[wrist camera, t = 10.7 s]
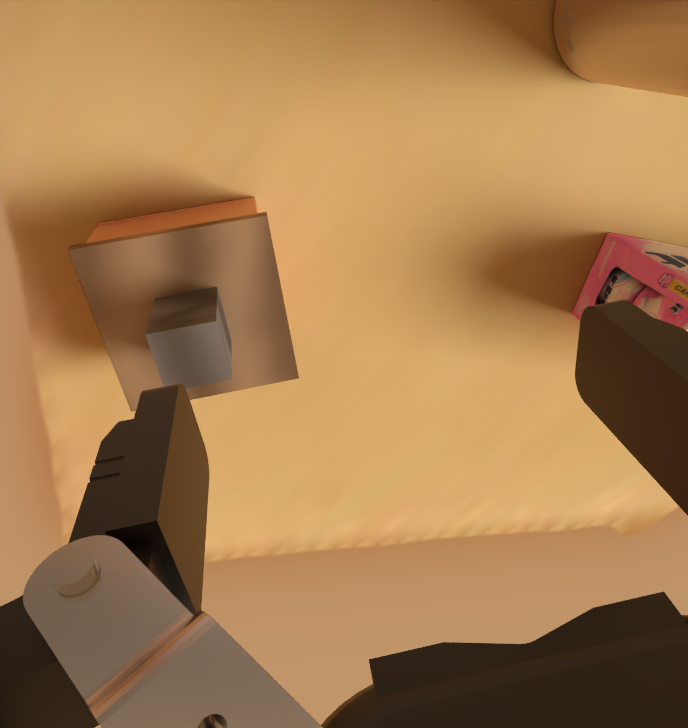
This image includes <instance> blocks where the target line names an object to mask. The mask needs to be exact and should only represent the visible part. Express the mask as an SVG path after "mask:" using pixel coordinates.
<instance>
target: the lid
mask: <svg viewBox="0 0 688 728" xmlns="http://www.w3.org/2000/svg"><path fill="white" fill-rule="evenodd" d="M68 253H69V255H70V258H71V261H72V263H73V266H74V268H75V271H76V273H77V276H78V278H79V281H80V283H81V286H82V288H83V291H84V293H85V296H86V298H87V301H88V303H89V306H90V309H91V311H92V314H93V316H94V319H95V321H96V324H97V326H98V329H99V331H100V334H101V336H102V339H103V341H104V344H105V346H106V349H107V351H108V354H109V356H110V359H111V362H112V364H113V367H114V369H115V372H116V374H117V377H118V379H119V382H120V384H121V387H122V389H123V392H124V394H125V397H126V399H127V402H128V404H129V407H130V410H131V412H132V411H136V409H137V405H138V402H139V398H140V394H141V392H142V391H145V390H150V389H155V388H160V387H165V386H171V385H176V384H183V386H184V387H185V389H186V391H187V394H188V397H189V400H192V399H197V398H202V397H207V396H212V395H217V394H222V393H227V392H232V391H237V390H242V389H247V388H252V387H257V386H262V385H267V384H272V383H277V382H282V381H287V380H292V379H297V378H299V376H298V371H297V366H296V361H295V356H294V351H293V346H292V341H291V335H290V330H289V325H288V320H287V315H286V310H285V305H284V300H283V295H282V290H281V285H280V280H279V274H278V269H277V264H276V259H275V254H274V249H273V244H272V239H271V234H270V229H269V224H268V218H267V213H266V212H263V213H257V214H252V215H246V216H240V217H234V218H228V219H223V220H217V221H211V222H205V223H200V224H194V225H188V226H182V227H176V228H171V229H165V230H159V231H153V232H148V233H142V234H136V235H130V236H125V237H119V238H113V239H107V240H101V241H96V242H90V243H84V244H78V245H73V246H70V247H69V249H68Z"/></svg>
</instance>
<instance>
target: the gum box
mask: <svg viewBox="0 0 688 728" xmlns="http://www.w3.org/2000/svg"><path fill="white" fill-rule="evenodd" d="M619 300H628V301H630V302H632V303H633V304H634V305H636V306H637V307H639V308H640V309H641V310H643V311H644V312H646V313H647V314H648V315H650V316H651V317H653V318H656V319H659V320H662V321H665V322H667V323H670V324H673V325H676V326H678V327H681V328H683V329H685V330H686V331H688V247H683V246H678V245H673V244H668V243H663V242H659V241H654V240H648V239H641V238H636V237H630V236H625V235H619V234H614V233H608V234H607V236H606V238H605V241H604V243H603V245H602V247H601V249H600V252H599V254H598V256H597V258H596V260H595V262H594V264H593V266H592V268H591V271H590V273H589V275H588V277H587V280H586V282H585V284H584V286H583V289H582V291H581V294H580V296H579V299H578V301H577V303H576V305H575V307H574V310H573V312H572V314H573V315H574V316H576V317H577V318H578V319H579V320H580V321H581V316H582V313H583V311H584V309H585V308H586V307H588V306H593V305H598V304H603V303H609V302H614V301H619Z"/></svg>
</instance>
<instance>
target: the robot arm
mask: <svg viewBox="0 0 688 728" xmlns="http://www.w3.org/2000/svg"><path fill="white" fill-rule="evenodd" d="M554 36H555V40H556V45H557V49H558V51H559V53H560V55H561V58H562V60H563V61H564V63H565V64H566V65H567V66H568V68H569V69H570V70H571V71H572V72H574V73H575V74H576V75H578V76H579V77H580V78H583V79H585V80H588V81H591V82H596V83H603V84H609V85H616V86H622V87H627V88H633V89H640V90H646V91H653V92H659V93H665V94H672V95H678V96H685V97H688V0H556V3H555V10H554ZM575 379H576V385H577V389H578V391H579V394H580V396H581V398H582V399H583V401H584V402H585V403H586V404H587V406H588V407H589V408H590V409H591V410H592V411H593V412H594V413H595V414H596V415H597V416H598V418H599V419H600V420H601V421H602V422H603V423H604V424H605V425H606V426H607V427H608V429H609V430H610V431H611V432H612V433H613V434H614V435H615V436H616V437H617V438H618V440H619V441H620V442H621V443H622V444H623V445H624V446H625V447H626V448H627V449H628V450H629V452H630V453H631V454H632V455H633V456H634V457H635V458H636V459H637V460H638V461H639V463H640V464H641V465H642V466H643V467H644V468H645V469H646V470H647V471H648V472H649V474H650V475H651V476H652V477H653V478H654V479H655V480H656V481H657V482H658V483H659V485H660V486H661V487H662V488H663V489H664V490H665V491H666V492H667V493H668V494H669V495H670V497H671V498H672V499H673V500H674V501H675V502H676V503H677V504H678V505H679V506H680V508H681V509H682V510H683V511H684V512H685V513H686V514H687V515H688V331H686V330H685V329H683V328H681V327H678V326H676V325H673V324H670V323H667V322H665V321H662V320H659V319H656V318H653V317H651V316H650V315H648V314H647V313H646V312H644V311H643V310H641V309H640V308H639V307H637V306H636V305H634V304H633V303H632V302H630V301H628V300H619V301H614V302H609V303H603V304H598V305H593V306H588V307H586V308H585V309H584V311H583V313H582V316H581V321H580V331H579V340H578V350H577V359H576V369H575ZM89 479H90V483H88V485H87V488H86V491H85V494H84V497H83V500H82V503H81V506H80V509H79V512H78V515H77V519H76V522H75V525H74V528H73V531H72V534H71V537H70V540H69V543H68V544H66V545H64V546H63V547H61V548H59V549H58V550H56V551H55V552H53V553H52V554H51V555H49V556H48V557H47V558H46V559H45V560H44V561H43V562H42V563H41V564H40V565H39V566H38V567H37V568H36V569H35V571H34V572H33V573H32V575H31V576H30V578H29V580H28V582H27V584H26V586H25V589H24V594H23V595H22V596H21V597H19V598H17V599H15V600H13V601H11V602H9V603H7V604H5V605H3V606H0V728H94V727H96V726H98V725H100V726H101V728H688V615H681V614H680V613H679V611H678V610H677V609H676V607H675V606H674V605H673V604H672V602H671V601H670V599H669V598H668V597H667V596H666V594H665V593H664V592H660V593H656V594H651V595H647V596H643V597H639V598H634V599H630V600H626V601H621V602H617V603H613V604H608V605H604V606H599V607H595V608H593V609H591V610H589V611H587V612H585V613H583V614H582V615H580V616H578V617H576V618H574V619H573V620H571V621H569V622H567V623H565V624H564V625H562V626H560V627H558V628H556V629H555V630H553V631H551V632H549V633H548V634H546V635H544V636H542V637H540V638H539V639H537V640H535V641H533V642H531V643H526V644H491V643H490V644H489V643H446V642H443V643H439V644H435V645H430V646H426V647H422V648H417V649H413V650H408V651H404V652H400V653H396V654H391V655H387V656H382V657H378V658H374V659H369V663H370V668H371V674H372V679H373V684H372V685H370V686H368V687H367V688H365V689H363V690H362V691H360V692H358V693H356V694H355V695H354V696H352V697H351V698H350V699H348V700H347V701H345V702H344V703H343V704H342V705H341V706H339V707H338V708H337V709H336V710H335V711H334V712H333V713H332V714H331V715H330V716H329V717H328V718H327V719H326V720H325V721H324V723H323V724H322V725H320V724H319V723H318V722H317V721H316V720H315V719H314V718H313V717H312V716H311V715H310V714H309V713H308V712H307V711H306V710H305V709H304V708H303V707H302V706H301V705H300V704H299V703H298V702H297V701H296V700H295V699H294V698H293V697H292V696H291V695H290V694H289V693H288V692H287V691H286V690H285V689H284V688H283V687H282V686H281V685H279V684H278V682H277V681H276V680H274V678H273V677H272V676H271V675H270V674H269V673H268V672H267V671H266V670H264V668H263V667H261V665H259V663H258V662H256V661H255V659H253V658H252V656H251V655H250V654H249V653H248V652H246V651H245V650H244V649H243V648H242V647H241V646H240V645H239V644H238V643H237V642H236V641H235V640H234V639H233V638H232V637H231V636H230V635H229V634H228V633H227V632H226V631H225V630H224V629H223V628H222V627H221V626H220V625H219V624H218V623H217V622H216V621H215V620H214V619H213V618H212V617H211V616H210V615H208V614H207V613H205V612H203V611H201V602H202V585H203V569H204V553H205V537H206V521H207V505H208V489H209V465H208V458H207V453H206V449H205V445H204V442H203V439H202V436H201V433H200V430H199V427H198V424H197V421H196V418H195V415H194V412H193V409H192V406H191V403H190V400H189V397H188V394H187V391H186V389H185V387H184V386H183V384H176V385H171V386H165V387H160V388H155V389H150V390H145V391H142V392H141V394H140V398H139V402H138V405H137V409H136V413H135V417H134V419H131V420H126V421H121V422H118V423H117V424H116V425H115V426H114V428H113V429H112V430H111V431H110V432H109V433H108V435H107V436H106V437H105V438H104V439H103V440H102V441H101V444H100V448H99V451H98V454H97V457H96V460H95V466H93V469H92V472H91V475H90V478H89Z"/></svg>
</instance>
